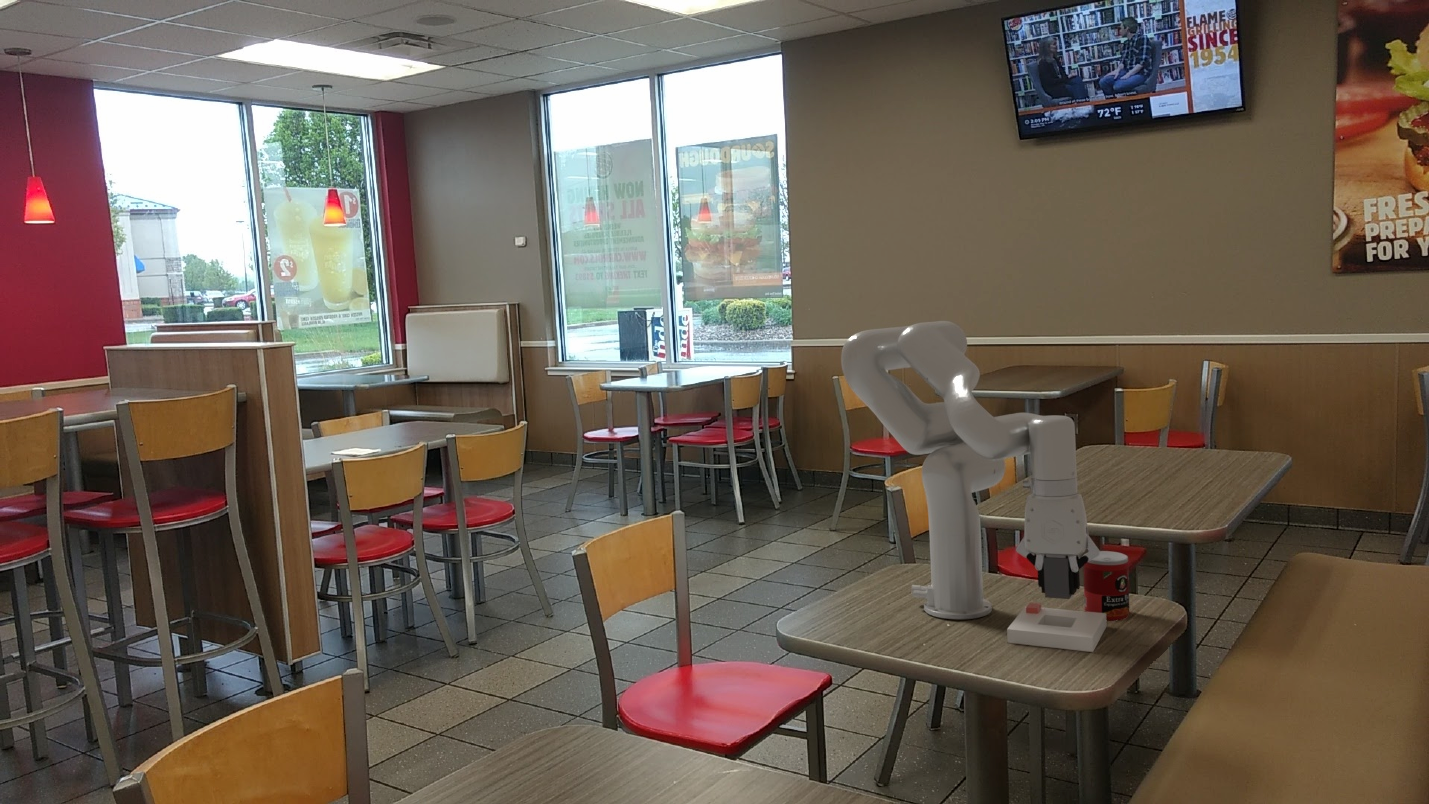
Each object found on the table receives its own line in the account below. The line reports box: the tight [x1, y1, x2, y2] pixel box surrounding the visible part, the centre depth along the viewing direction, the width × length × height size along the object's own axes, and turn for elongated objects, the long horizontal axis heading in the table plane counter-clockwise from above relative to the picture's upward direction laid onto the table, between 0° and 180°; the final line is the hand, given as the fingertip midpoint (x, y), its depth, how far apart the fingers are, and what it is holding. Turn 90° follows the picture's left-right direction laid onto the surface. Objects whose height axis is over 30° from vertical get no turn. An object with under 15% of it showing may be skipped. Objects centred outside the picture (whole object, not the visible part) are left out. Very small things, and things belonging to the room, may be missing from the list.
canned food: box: [1083, 550, 1130, 622], centre depth 189 cm, size 8×8×11 cm
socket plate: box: [1006, 602, 1107, 653], centre depth 181 cm, size 14×14×3 cm
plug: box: [1043, 555, 1073, 600], centre depth 179 cm, size 4×4×8 cm
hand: (1059, 590), depth 180 cm, fingers closed on plug, 4 cm apart
